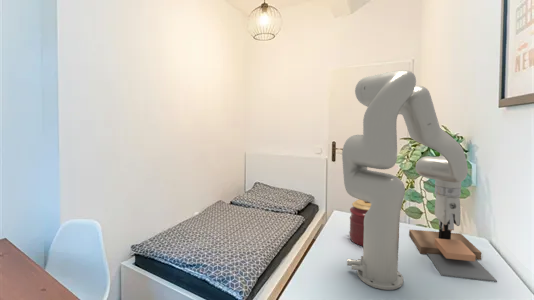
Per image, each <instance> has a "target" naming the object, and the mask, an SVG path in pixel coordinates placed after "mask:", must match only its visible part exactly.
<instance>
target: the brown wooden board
mask: <svg viewBox="0 0 534 300" xmlns="http://www.w3.org/2000/svg"><path fill="white" fill-rule="evenodd" d="M408 236H409V237H410V240H411V241H412V242H413V244H414V246H415V247H416V249H417V251H418V252H419V253H420V254H421V255H427V253H429V254H439V255H443V254H442V253H441V251H440V250H439V249H438V247H437V246H436V245H435V244H434V242H435V238H439V231H433V230H421V229H409V233H408ZM451 240H461V241H462V242H463V243H464V244H465V245H466V246H467V247H468V248H469V249H470V250H471V251H472V252H473V253H474V254H475V255H476V258H475V259H476V260H477V261H478V260H480V261H481V260H482V251H481V250H479V249H478V248H477V247H476V246H475V245H474V244H473V243H472V242H471V241H470V240H468V239H467V238H466V237H465V236H464V235H463V234H462V233H460V232H459V233H457V232H451Z"/></svg>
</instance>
